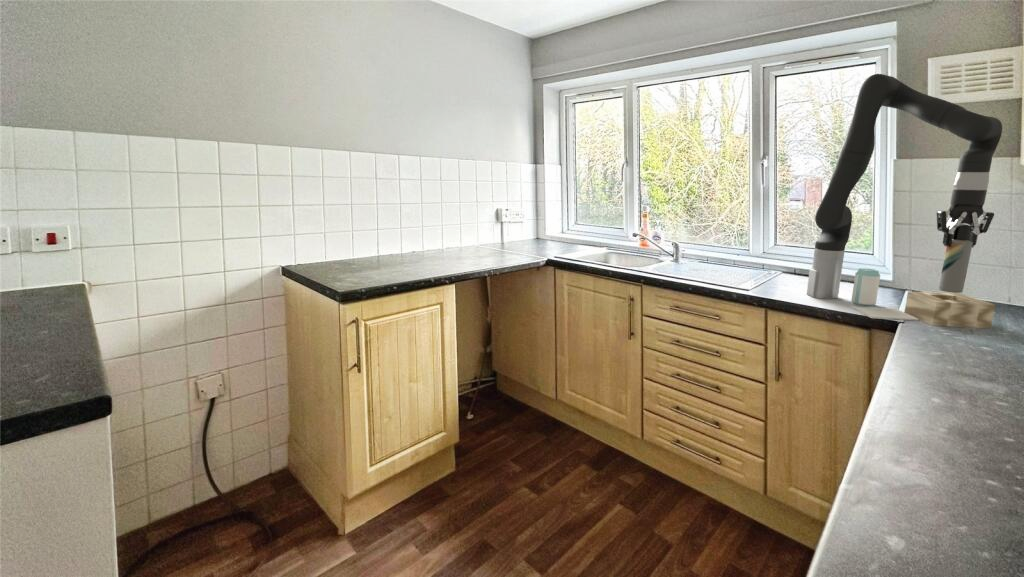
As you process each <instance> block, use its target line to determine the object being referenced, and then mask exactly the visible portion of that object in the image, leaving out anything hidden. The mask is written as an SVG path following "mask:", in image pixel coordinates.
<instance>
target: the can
mask: <svg viewBox="0 0 1024 577" xmlns="http://www.w3.org/2000/svg"><path fill="white" fill-rule="evenodd" d="M880 280H881V274H880V271H879V270H878V269H874V268H866V267H865V268H862V267H861V268H858V269H857V271H856V272H855V275H854V280H853V286H852V293H851V300H850V301H851V302H852V303H853V304H854V305H857V306H861V307H873V306H874V305H876V304H877V298H878V292H879V287H880Z"/></svg>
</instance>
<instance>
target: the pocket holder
mask: <svg viewBox="0 0 1024 577" xmlns="http://www.w3.org/2000/svg"><path fill="white" fill-rule="evenodd" d="M995 310H996V304H994V303H991V302H987V301H984V300H982V299H979V298H976V297H973V296H970V295H966V294H963V293H952V292H929V291H907V295H906V301H905V308H904V311H903V312H904V313H907V314H909V315H911V316H913V317H915V318H918V319H919V320H920V321H921V322H924V323H926V324H929V325H931V326H936V327H937V326H938V327H939V326H941V327H957V328H959V327H960V328H976V329H978V328H979V329H991V327H992V323H993V318H994V314H995Z"/></svg>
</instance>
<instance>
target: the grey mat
mask: <svg viewBox="0 0 1024 577" xmlns="http://www.w3.org/2000/svg"><path fill="white" fill-rule="evenodd" d="M852 309H853V310H855V311H857V312H859V313H860V314H863V315H864V316H867V317H868V318H870V319H876V320H877V319H879V320H895V319H900V320H901V321H919V319H918V318H915V317H913V316H911V315H909V314H907V313H904V312H905V311H902V310H899V309H897V308H886V307H885V308H884V307H868V306H852ZM885 318H886V319H885ZM900 320H899V321H900Z"/></svg>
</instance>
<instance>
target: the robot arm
mask: <svg viewBox="0 0 1024 577" xmlns="http://www.w3.org/2000/svg"><path fill="white" fill-rule="evenodd" d="M856 98H857V99H856V102H855V106H854V110H853V115H852V118H851V122H850V123H849V124H850V125H849V126H848V129H847V133H846V136H845V139H844V141H843V143H842V146H841V148H840V151H839V155H838V157H837V160H836V163H835V166H834V169H833V172H832V173H831V174H832V175H831V178H830V181H829V183H828V187H827V189H826V192H825V194H824V196H823V198H822V200H821V202H820V204H819V206H818V208H817V210H816V213H815V218H814V220H815V225H816V226H817V227H818V228H819V229H820V230H821V232H820V236H819V238H818V239H817V240H816V241H815V244H814V251H813V252H814V253H813V260H812V265H811V266H812V267H811V268H810V269H809V273H808V281H807V289H806V295H808V296H810V297H811V298H819V299H827V300H834V299H838V298H839V293H840V284H841V277H842V272H843V271H842V270H843V264H844V256H845V251H846V246H847V244H848V242H849V239H850V235H851V234H850V233H851V227H852V222H853V213H852V210H851V208H849V206H847V203H848V200H849V198H850V194H851V193H852V192H853V189H854V188H855V186H856V185H857V184H858V182H860V179H861V178H862V177H863V176H864V174H865V172H866V171H867V168H868V166H869V164H870V163H871V162H870V161H871V158H872V156H873V153H874V150H875V144H876V141H875V140H876V137H875V136H876V132H875V131H876V121H877V119H878V115H879V113H880V111H881V108H882V107H886V108H891V109H892V108H893V109H897V110H901V111H902V112H906V113H908V114H910V115H913V117H915V118H918V119H919V120H921V121H923V122H924V123H927V124H929V125H931V126H933V127H937V128H939V129H941V130H945V131H948V132H950V133H952V134H953V135H955V136H957V137H958V138H961V139H963V140H966V141H969V143H968V146H967V150H966V151H964V152H963V153H961V155H960V158H959V161H958V167H957V172H956V176H955V178H954V183H953V186H952V188H953V189H952V193H951V198H950V207H949V208H948V209H946V210H938V211H936V229H937V230H938V232H942V233H943V238H942V245H943V246H944V247H950V246H951V244H952V240H954V239H953V232H954V230H955V229H956V228H957V227H958V226H959V225H960V224H966V225H969V226H972V227H971V233H970V238H969V240H967V241H971V242H972V249H973V248H974V247H976V245H977V240H978V236H979V234H983V233H984V234H985V233H987V232H988V230H989V228H990V225H991V224H992V223H991V222H992V221H993V219H994V216H995V213H994V212H991V211H985V210H984V208H983V207H984V205H985V201H986V197H987V193H988V188H989V182H990V171H991V165H992V161H993V155H994V154H995V152H996V150H997V147H998V145H999V143H1000V140H1001V138H1002V134H1003V133H1002V132H1003V124H1002V121H1001V120H1000V119H999V118H997V117H993V116H986V115H984V114H983V115H982V114H979V113H977V112H973V111H971V110H967V108H965V107H963V106H962V105H958V104H955V103H953V102H951V101H948V100H945V99H941V98H939V97H936V96H932V95H928V94H925V93H923V92H920V91H917V90H916V89H914V88H912V87H910V86H908V85H907V84H905V83H904V82H902V81H900V80H899V79H897V78H896V77H895V76H891V75H887V74H883V73H875V74H872V75H870V76H868V77H867V78H866V79H865V80H864V81H863V83H862V84H861V87H860V89H859V90H858V95H857V97H856ZM949 217H950V218H949ZM948 218H949V220H948V222H947V219H948ZM979 218H980V222H979Z"/></svg>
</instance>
